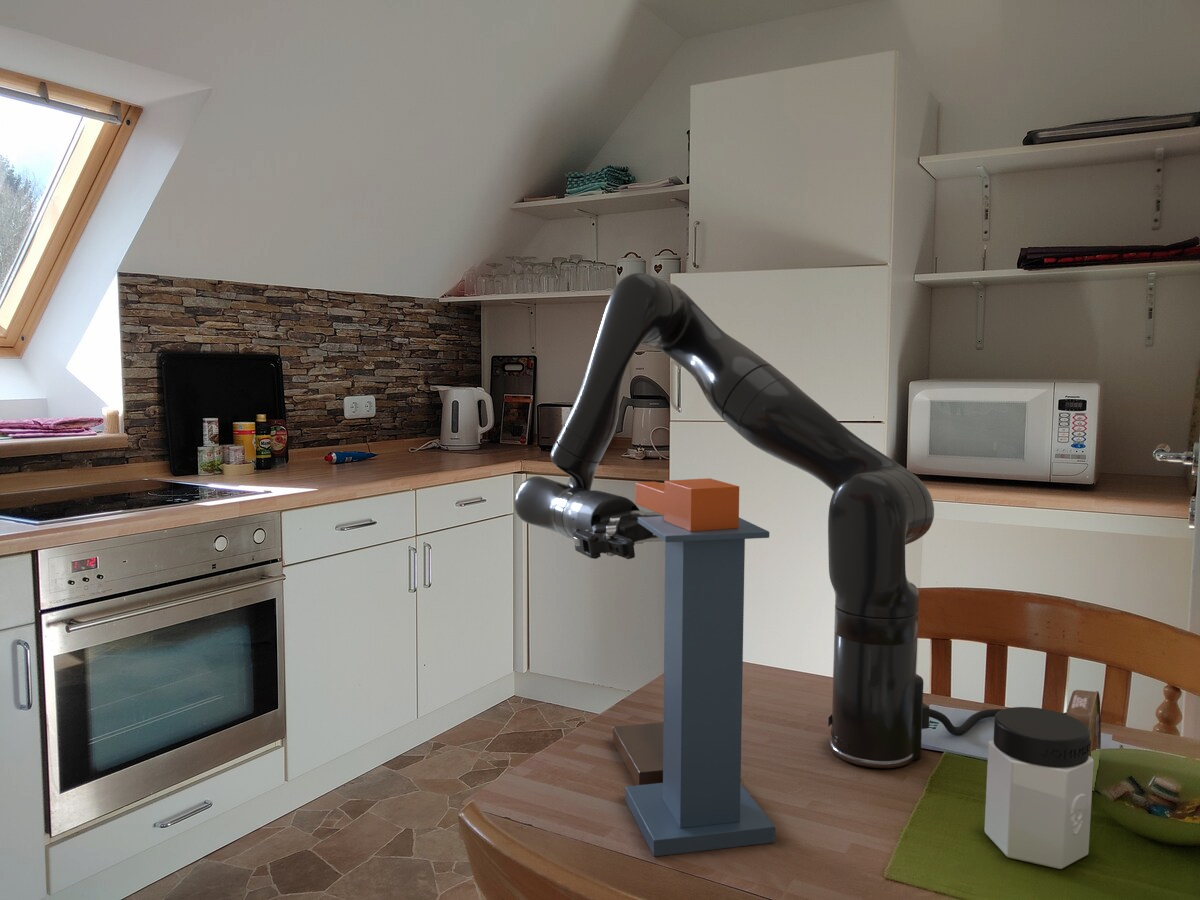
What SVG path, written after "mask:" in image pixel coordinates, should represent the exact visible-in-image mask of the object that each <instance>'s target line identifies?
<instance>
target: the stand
mask: <svg viewBox="0 0 1200 900" xmlns="http://www.w3.org/2000/svg"><path fill="white" fill-rule="evenodd" d="M638 523H639V524H640V525H642V526H643V527H645V528H646V529H648V530H649V531H650V532H652V533H653V535H656V536H658V537H659V538H660V539H662V540H663V541H662V542H664V609H663V610H664V617H663V619H664V622H663V623H664V625H663V626H664V627H663V633H664V634H663V638H664V639H663V783H656V784H646V785H636V784H635V785H626V786H625V803H626V805H627V807H628V809H629V810H630V812H631V814H632V816H633V818H634V820H635V822H636V824H637V826H638V828H639V830H640V832H641V835H642V837H643V838H644V840H645V842H646V844H647V846H648V848H649V850H650V852H651V854H652V856H653V857H662V856H671V855H680V854H687V853H696V852H697V853H698V852H705V851H713V850H721V849H730V848H739V847H748V846H755V845H757V846H758V845H764V844H773V843H776V825H775V824H774V823H773V821H771V819H770V818H769V816H768V815H767V814H766V813H765V812H764V811H763V809H762V808H761V806H759V804H758V803H757V802H756V800H755V799H754V798H753V796H751V794H750V793H749V791H748V790H747V789H746V788H745V787H744V786H743V784H742V783H741V782H742V781H741V780H742V779H741V778H742V777H741V776H742V770H741V769H742V730H743V729H742V727H743V726H742V722H743V672H744V671H743V669H744V667H743V666H744V617H745V616H744V611H745V607H744V606H745V563H746V562H745V561H746V559H745V553H746V540H751V539H752V540H753V539H769V538H770V531H769V530H767V529H765V528H762V527H760V526H759V525H756V524H754V523H752V522H750V521H748V520H745V519H743V518H742V517H739V528H736V529H722V530H708V531H694V532H691V531H688V530H686V529H683V528H681V527H678V526H676V525H673V524H671V523H668V522H666V521H664V516H655V517H638Z"/></svg>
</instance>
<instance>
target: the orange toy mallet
mask: <svg viewBox="0 0 1200 900" xmlns="http://www.w3.org/2000/svg"><path fill="white" fill-rule="evenodd" d="M634 485H635V489H634V490H635V497H634V500H635V501H634V504H635V505H636V506H640V507H642V508H644V509H647V510H650V511H651V512H657V513H660V514H662V515H664V521H666V522H668V523H671V524H673V525H676V526H678V527H681V528H683V529H686V530H688V531H691V532H694V531H708V530H722V529H736V528H739V518H740V486H739V485H736V484H732V483H728V482H725V481H720V480H717V479H713V478H711V477H710V478H692V479H691V478H690V479H671V480H670V479H669V480H664V483H660V482H659V481H658V482H657V481H638V482H637V481H636V482H635V483H634Z"/></svg>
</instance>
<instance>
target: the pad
mask: <svg viewBox="0 0 1200 900" xmlns="http://www.w3.org/2000/svg"><path fill="white" fill-rule="evenodd" d="M663 722H664V721H663ZM663 722H653V723H652V722H651V723H640V724H628V725H617V726H612V744H613V745H614V747H615V749H616V751H617V753H618V754H619V756H620V758H621V760H622V761H623V764H624V765H625V767H626V769H627V770H628V772H629V775H630V776H631V778H632V780H633V781H634V783H635V786H636V785H646V784H656V783H663Z"/></svg>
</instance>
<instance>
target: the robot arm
mask: <svg viewBox="0 0 1200 900" xmlns="http://www.w3.org/2000/svg"><path fill="white" fill-rule="evenodd" d="M611 291H612V292H611V293H610V296H609V298H608V300H607V302H606V306H605V307H604V311H603V314H602V318H601V321H600V324H599V327H598V331H597V334H596V337H595V341H594V344H593V346H592V349H591V353H590V356H589V359H588V363H587V366H586V369H585V372H584V375H583V379H582V382H581V384H580V386H579V389H578V393H577V394H576V397H575V400H574V402H573V405H572V406H571V409H570V411H569V413H568V415H567V417H566V419H565V421H564V422H563V425H562V427H561V429H560V431H559V433H558V435H557V436H556V439H555V441H554V443H553V446H552V448H551V450H550V454H549V455H550V456H549V457H550V460H551V462H552V464H553V465H554V466H555V467H556V468H558V469H559V470H561V471H562V472H563V473H565V474H566V475H568V476H569V480H568V481H567V483H563V482H558V481H555V480H553V479H550V478H547V477H544V476H540V475H539V476H538V475H536V476H531V477H528V478H527V479H525V480H524V481H523V482H521V484H519V486H518V487H517V489H516V491H515V494H514V499H513V503H514V504H513V507H514V510H515V513H516V515H517V516H518V518H519V519H520V520H521V521H522V522H524V523H526V524H528V525H532V526H536V527H538V528H541V529H542V528H543V529H546V530H549V531H551V532H555V533H559V534H561V535H562V536H564V537H566V538H569V539H572V540H573V542H574V550H575V551H576V552H578V553H579V554H582V555H583V556H586V557H588V558H590V559H594V560H596V559H597V560H598V559H599V558H601V554H605V555H606V556H607V557H614V556H618V557H620V558H623V559H626V560H631V559H635V557H636V552H635V547H634V546H636V545H639V544H640V545H641V544H644V543H647V542H653V543H654V542H655V543H656V542H657V543H659V542H664V541H663V540H662V539H660V538H659V537H658V536H656V535H655V534H653V533H652V532H650V531H649V530H648V529H646V528H645V527H643V526H642V525H640V524H639V523H638V517H655V516H664V515H662V514H660V513H657V512H655V511H645V510H642V509H640V508H639V507H638V505H637V504H635V502H634V501H633V500H631V499H629V498H627V497H625V496H623V495H622V496H621V495H618V494H613V493H609V492H606V491H601V490H593V489H592V487H593V483H594V479H595V475H596V471H597V469H598V467H599V464H600V462H601V460H602V459H603V457H604V454H605V453H606V451H607V448H608V446H609V445H610V443H611V441H612V439H613V436H614V434H615V431H616V428H617V425H618V420H619V416H620V415H619V414H620V406H621V405H620V404H621V392H622V386H623V381H624V376H625V374H626V371H627V368H628V366H629V364H630V361H631V360H632V358H633V356H634V355H635V353H636V351H637V350H638V348H639V347H640V345H643V346H647V347H649V348H653V349H656V350H658V351H659V352H661V353H663V354H664V355H666V356H667V357H669V358H670V359H672V360H673V361H674V362H676V363H677V364H678V365H680V366H681V367H682V368H683V369H685V370H686V371H687V372H688V373H690V375H691V376H692V377H693V378H694V379H695V382H697V384H698V386H699V387H700V389H701V391H702V393H703V395H704V397H705V399H706V400H707V402H708V403H709V405H710V407H711V408H712V409H713V411H715V413H716V414H717V415H718V416H719V417H720V418H721V419H722V420H723V421H724V422H725V423H726V424H727V425H728V426H729V427H731V428H732V429H733V430H734V431H735V432H736V433H738V434H739V435H740V436H741V437H742V438H743V439H745V440H746V442H748V443H749V444H751V445H752V446H754V447H755V448H757V449H759V450H760V451H763V452H764V453H766V454H768V455H770V456H771V457H774V458H776V459H777V460H780V461H782V462H784V463H786V464H788V465H791V466H793V467H794V468H797V469H799V470H802V471H803V472H805V473H807V474H809V475H810V476H812V477H814V478H816V479H817V480H818V481H820V482H821V483H822V484H824V485H825V486H826V487H828V489H830V490H831V491H832V492H833V493H832V495H831V498H830V501H829V506H828V516H827V550H828V552H827V553H828V575H829V576H828V577H829V580H830V581H829V582H830V584H831V587H832V589H833V592H834V604H835V605H834V624H833V625H834V626H833V627H834V628H833V629H834V630H833V631H834V632H833V664H832V665H833V666H832V667H833V668H832V669H833V670H832V698H831V699H832V701H831V702H832V703H831V706H832V707H831V708H832V709H831V714H830V715H829V716H828V718H827V719H828V721H827V722H828V723H827V726H828V728H829V727H830V726H831V729H830V736H831V737H830V741H829V742H830V743H829V748H830V751H831V752H832V753H833V754H834V755H835V756H836V757H837V758H839V759H841V760H843V761H845V762H847V763H850V764H852V765H857V766H861V767H866V768H872V769H893V768H894V769H895V768H900V767H903V766H906V765H909V764H911V763H912V761H913V760H920V759H921V758H922V737H923V736H922V734H923V730H925V729H929V728H930V718H931V719H934V720H937V721H939V722H940V723H941V724H942V725H943V727H944V728H945V729H946V730H947V732H948V733H949V734H951V735H955V736H961V735H964V734H966V733H967V732H968V731H969V730H970V729H971V728H972V727H973V726H974V725H975V724H977V722H979V721H981V720H983V719H989V718H995V715H996V714H997V713H998V712H999V711H1001V710H1003V709H1004V708H990V709H984V710H980V711H977V712H975V713H973V714H972V715H971V716H969V717H968V718H967V719H966V720H965V721H964V722H963V723H962V724H960V726H955V725H954V724H953V723H952V722H951V720H950V719H949V717H948V716H947V715H945V714H944V713H942V712H941V711H939V710H935V709H932V708H931V707H930V706H929V705H927V704H925V702H924V684H925V683H924V679H923V677H922V676H920V675H919V674H917V664H918V663H917V662H918V661H917V660H918V636H919V635H918V634H919V633H918V632H919V610H920V592H919V589H918V587H917V586H916V585H915V584H914V583H913V582H911V581H909V579H908V578H907V571H906V545H910V544H912V543H914V542H915V541H918V540H919V539H921V538H923V536H925V535H926V534H927V533H928V532H929V530H930V529H931V527H932V525H933V522H934V518H935V506H934V501H933V497H932V496H931V492H930V491H929V490H928V488H927V486H926V484H925V483H924V482H923V481H922V480H921V479H920V478H919V477H918V476H917V475H915V474H914V473H913V472H912V471H910V470H909V469H908V468H906V467H905V466H902V464H900V463H899V462H897V461H895V460H894V459H892V458H890V457H889V456H887V455H885V454H884V453H883V452H881V451H880V450H878V449H876V448H875V447H873V446H872V445H870V444H869V443H868V442H866V441H864V439H863V440H862V438H860V437H859V436H857V435H856V434H854V433H853V432H852V431H851V430H849V429H848V427H846V426H844V425H843V424H842V423H841V422H840V421H839V420H838V419H836V418H835V417H834V416H833V415H832V414H831V413H829V412H828V411H827V410H826V409H825V408H824V407H823V406H822V405H820V404H819V403H817V402H816V401H815V400H814V399H813V398H811V397H810V396H809V395H808V394H807V393H806V392H804V390H802V389H801V388H800V387H799V386H798V385H797V384H796V383H794V382H793V381H792V380H791V379H790V378H788V377H787V376H786V375H785V374H783V373H782V372H781V371H779V370H778V369H777V368H776V367H775V366H773V365H772V364H771V363H770V362H768V361H767V360H766V359H764V358H763V357H762V356H760V355H759V354H758V353H756V352H754V351H753V350H752V349H750V348H749V347H747V346H746V345H744V344H743V343H742V342H740V341H738V340H737V339H735V338H734V337H732V336H730V334H728V333H726V332H725V331H724V330H723V329H721V328H720V327H719V326H718V325H717V324H716V323H715V322H714V321H713V320H712V319H711V318H710V317H709V316H708V315H707V314H706V313H705V311H704V310H702V309H701V307H700V306H698V304H697V303H695V301H694V300H693V299H692V298H691V297H690V296H689V294H688V293H686V292H685V291H684V290H683V289H682V288H680V287H679V286H677V285H676V284H674V283H671V282H669V281H667V280H664V279H661V278H658V277H657V276H653V275H651V274H648V273H645V272H633V273H629V274H628V275H626V276H624V277H623V278H621V279H620V280H619V281H618V283H617V284H616V285H615V286H614V287H613V290H611ZM1062 713H1063V714H1066V713H1067V711H1066V712H1062Z"/></svg>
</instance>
